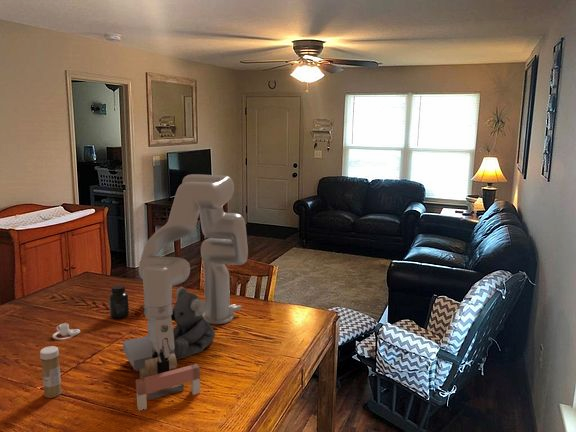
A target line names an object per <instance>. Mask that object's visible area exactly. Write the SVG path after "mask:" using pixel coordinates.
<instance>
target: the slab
mask: <svg viewBox="0 0 576 432" xmlns="http://www.w3.org/2000/svg"><path fill="white" fill-rule="evenodd" d="M168 348H169V347H168ZM122 350H123V353H124V355H125V357H126V358H127V359H128V362H129V363H130V365H131V367H132V368H133V370H134V371H136V370H138V369H142V368H145V360H149V359H152V354H153V353H152V345H151V344H150V342H149V339H148V335H145V336H142V337H136V338H132V339H128V340H123V341H122ZM169 353H170V354H175V351H174V350H171V349H170V348H169Z"/></svg>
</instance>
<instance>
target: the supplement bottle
mask: <svg viewBox="0 0 576 432" xmlns="http://www.w3.org/2000/svg"><path fill="white" fill-rule="evenodd" d="M108 300H109V315H110V319H112V320H115V321H117V320H118V321H119V320H124V319H127V318H128V317H129V316H130V306H129V305H130V303H129V295H128V293H127V292H126V287H125V285H122V284H118V285H113V286H111V294H110V295H109V297H108Z"/></svg>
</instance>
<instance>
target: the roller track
mask: <svg viewBox="0 0 576 432" xmlns="http://www.w3.org/2000/svg"><path fill="white" fill-rule="evenodd" d="M135 371H136V372H138V373H139V377H140V378H139V379H141V378H145V377H149V376H152V375H156V374H158V372H157V373H153V374H149V375H147V373H146V370H145V368H142V369H138V370H135ZM169 371H171V369H169ZM184 385H185V384H184V383H182V384H179V385H175V386H172V387H168V388H165V389H161V390H158V391H154V392H151V393H147V400H148V401H150V400H154V399H158V398H161V397H164V396H168V395H171V394H175V393H177V392H182V391H184V390H185V386H184Z"/></svg>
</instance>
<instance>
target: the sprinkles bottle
mask: <svg viewBox="0 0 576 432" xmlns="http://www.w3.org/2000/svg"><path fill="white" fill-rule="evenodd" d="M59 353H60V352H59V348H58V347H57V346H53V345H50V346H46V347H42V349H41V350H39V358H40V360H41V370H42V371H41V372H42V374H41V375H42V385H43V391H44V392H43V395H44V397H45V398H48V399H49V398H50V399H52V398H55V397H58V396H60V395H61V394H62V393H63V390H62V385H61V383H62V379H61V368H60V360H59V355H60V354H59Z"/></svg>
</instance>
